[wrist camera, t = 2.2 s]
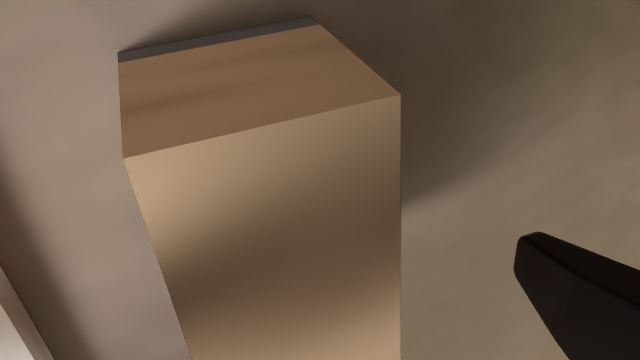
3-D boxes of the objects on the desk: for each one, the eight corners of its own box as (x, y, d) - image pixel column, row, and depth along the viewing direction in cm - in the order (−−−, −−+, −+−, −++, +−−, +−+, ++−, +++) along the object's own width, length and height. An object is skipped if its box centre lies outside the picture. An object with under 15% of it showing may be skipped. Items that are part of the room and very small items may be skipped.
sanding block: (330, 236, 17) (400, 361, 13) (187, 277, 16) (215, 426, 12) (309, 14, 13) (400, 94, 9) (117, 50, 12) (123, 158, 8)
